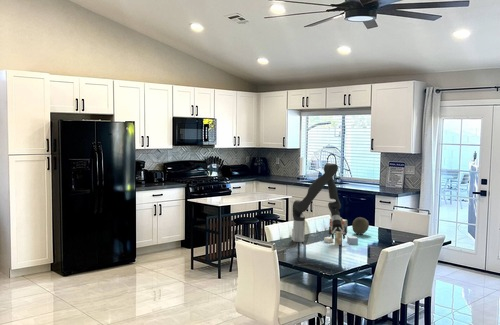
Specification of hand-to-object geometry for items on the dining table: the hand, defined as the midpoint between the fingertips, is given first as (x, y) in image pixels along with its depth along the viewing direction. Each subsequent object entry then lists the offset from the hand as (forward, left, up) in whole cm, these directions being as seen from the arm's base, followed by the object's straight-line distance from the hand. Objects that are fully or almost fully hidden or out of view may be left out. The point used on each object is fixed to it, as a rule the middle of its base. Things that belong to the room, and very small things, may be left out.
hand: (338, 238), depth 379 cm
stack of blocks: (+25, +51, -5) cm, 57 cm away
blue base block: (+14, +3, -5) cm, 15 cm away
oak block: (0, +1, -5) cm, 5 cm away
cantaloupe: (+37, +34, -5) cm, 51 cm away
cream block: (-4, +10, -5) cm, 12 cm away
